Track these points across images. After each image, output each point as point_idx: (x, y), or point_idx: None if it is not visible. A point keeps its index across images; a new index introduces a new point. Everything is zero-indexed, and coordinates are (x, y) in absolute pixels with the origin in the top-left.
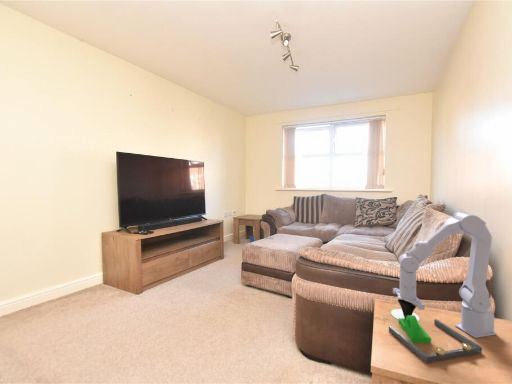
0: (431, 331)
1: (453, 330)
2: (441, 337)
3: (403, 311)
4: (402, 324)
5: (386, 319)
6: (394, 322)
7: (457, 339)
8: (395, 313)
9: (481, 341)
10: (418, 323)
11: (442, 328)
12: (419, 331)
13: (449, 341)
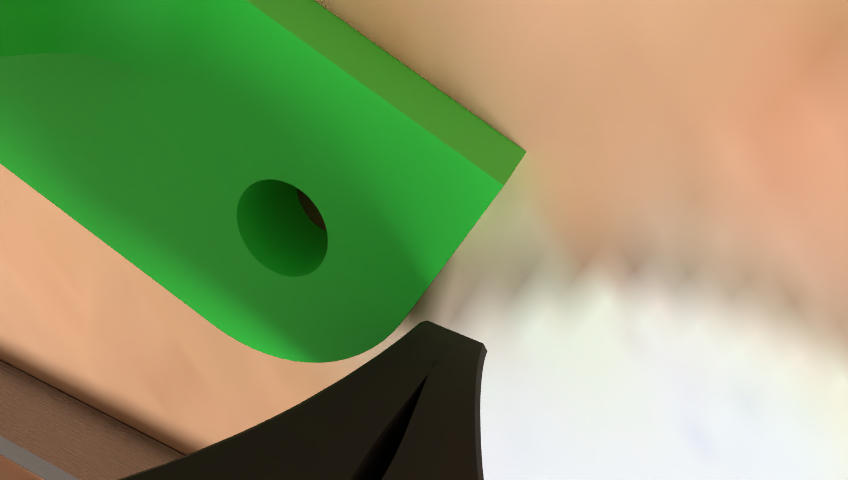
0: (171, 332)
1: (17, 455)
2: (64, 295)
3: (429, 432)
4: (300, 28)
5: (825, 19)
6: (588, 86)
7: (28, 375)
8: (797, 452)
9: (5, 471)
10: (209, 319)
11: (159, 460)
12: (10, 76)
13: (5, 285)
